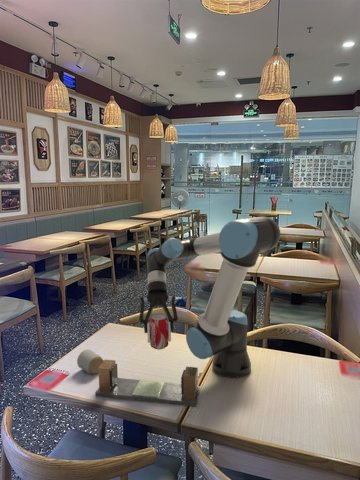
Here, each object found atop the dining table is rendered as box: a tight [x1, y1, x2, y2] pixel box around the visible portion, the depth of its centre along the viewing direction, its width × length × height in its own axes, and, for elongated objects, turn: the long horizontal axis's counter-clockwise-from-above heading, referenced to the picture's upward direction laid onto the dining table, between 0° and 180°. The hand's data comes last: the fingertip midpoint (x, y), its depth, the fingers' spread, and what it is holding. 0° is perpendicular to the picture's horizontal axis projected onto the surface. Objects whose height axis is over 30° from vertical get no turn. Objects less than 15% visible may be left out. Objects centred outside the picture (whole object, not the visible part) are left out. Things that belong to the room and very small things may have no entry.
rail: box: [95, 359, 201, 408], centre depth 122 cm, size 35×10×10 cm, turn 80°
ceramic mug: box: [76, 349, 105, 375], centre depth 139 cm, size 11×8×8 cm
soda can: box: [149, 312, 169, 351], centre depth 131 cm, size 7×7×12 cm
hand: (159, 340), depth 128 cm, fingers closed on soda can, 7 cm apart
